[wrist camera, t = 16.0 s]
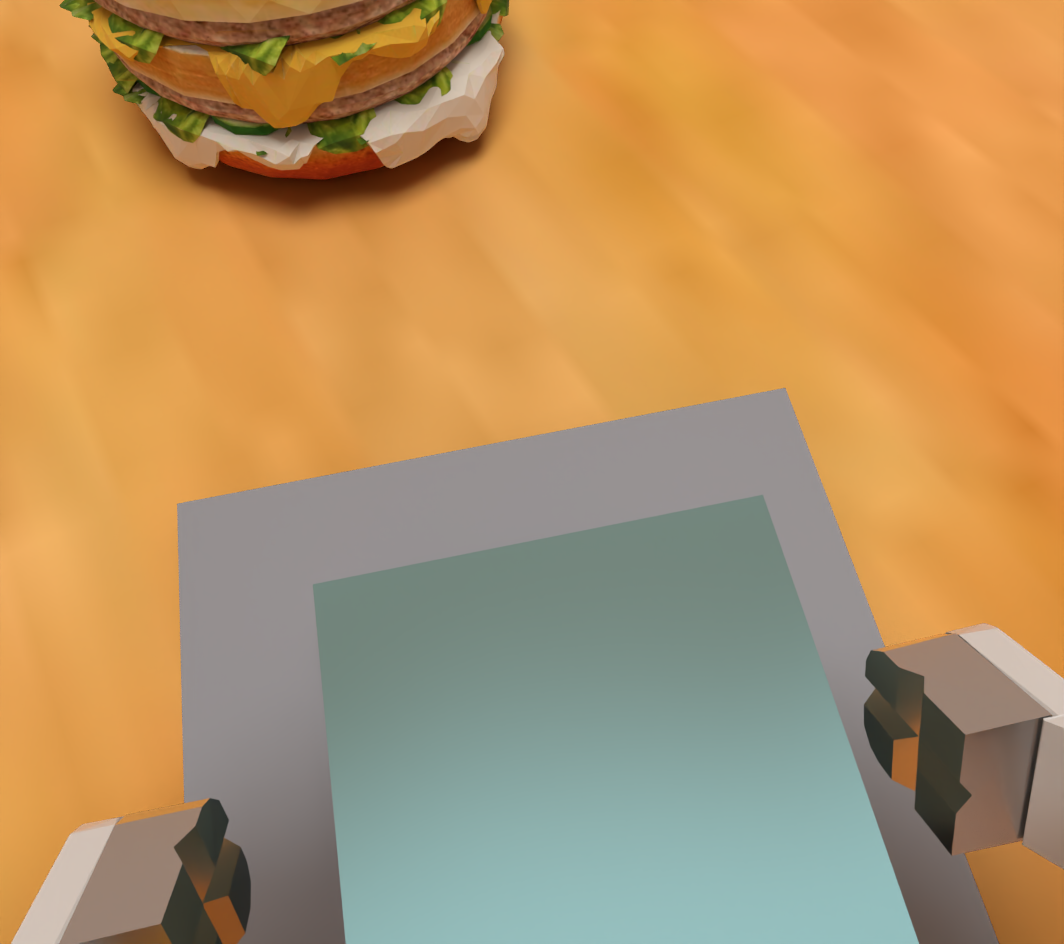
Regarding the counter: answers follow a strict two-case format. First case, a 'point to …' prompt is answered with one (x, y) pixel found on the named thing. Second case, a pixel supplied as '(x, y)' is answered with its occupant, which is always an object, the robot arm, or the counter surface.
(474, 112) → the burger
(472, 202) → the counter surface
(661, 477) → the socket board
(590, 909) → the teal peg
